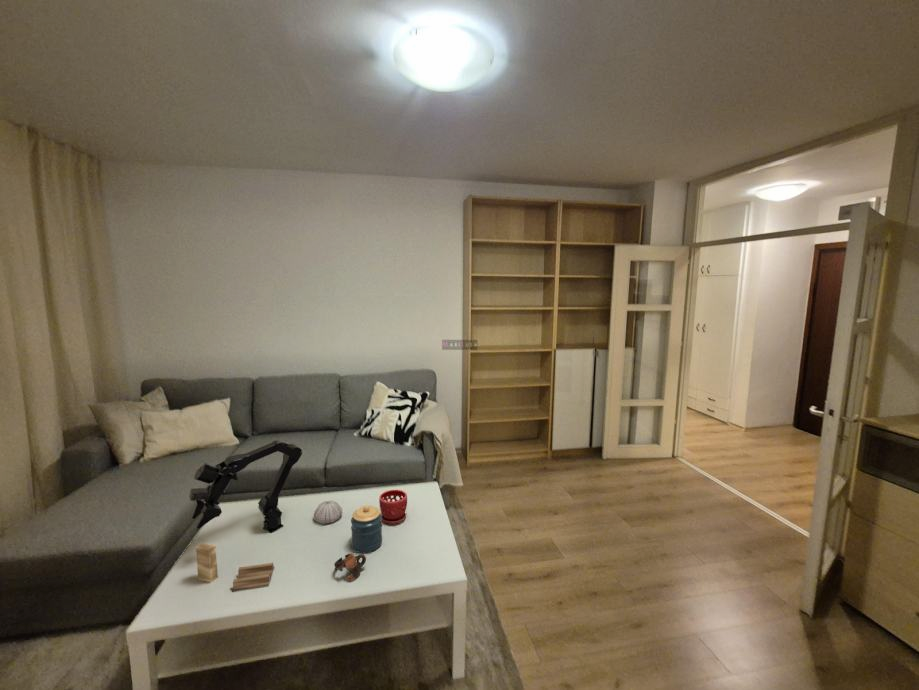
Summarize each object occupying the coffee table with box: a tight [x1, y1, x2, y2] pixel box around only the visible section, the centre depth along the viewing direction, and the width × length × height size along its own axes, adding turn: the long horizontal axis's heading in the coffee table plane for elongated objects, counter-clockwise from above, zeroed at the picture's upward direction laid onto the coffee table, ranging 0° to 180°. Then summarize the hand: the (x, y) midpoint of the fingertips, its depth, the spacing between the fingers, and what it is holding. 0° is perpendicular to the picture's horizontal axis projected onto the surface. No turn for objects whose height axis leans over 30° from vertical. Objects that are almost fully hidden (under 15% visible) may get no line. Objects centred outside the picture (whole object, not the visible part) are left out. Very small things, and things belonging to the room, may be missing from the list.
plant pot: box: [378, 489, 408, 525], centre depth 189 cm, size 13×13×12 cm
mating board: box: [232, 562, 275, 593], centre depth 149 cm, size 10×12×3 cm
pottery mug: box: [333, 552, 367, 583], centre depth 153 cm, size 12×10×8 cm
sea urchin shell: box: [312, 500, 343, 524], centre depth 190 cm, size 13×14×8 cm
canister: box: [350, 504, 383, 554], centre depth 170 cm, size 13×13×18 cm
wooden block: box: [195, 542, 219, 584], centre depth 148 cm, size 3×6×13 cm, turn 74°
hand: (195, 523), depth 160 cm, fingers open, 9 cm apart
